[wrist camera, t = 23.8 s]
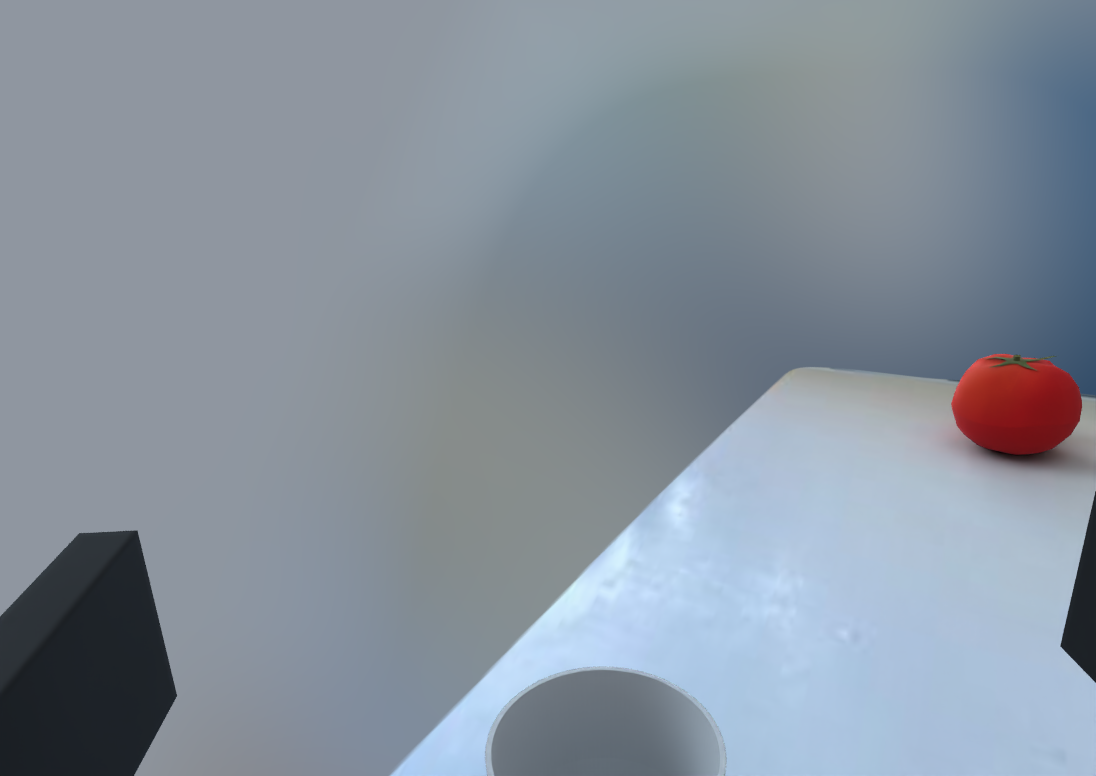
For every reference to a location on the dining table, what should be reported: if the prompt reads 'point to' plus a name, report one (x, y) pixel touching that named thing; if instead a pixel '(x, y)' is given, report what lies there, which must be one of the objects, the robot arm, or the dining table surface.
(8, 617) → the robot arm
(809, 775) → the dining table surface
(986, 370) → the tomato
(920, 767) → the dining table surface
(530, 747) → the cup
